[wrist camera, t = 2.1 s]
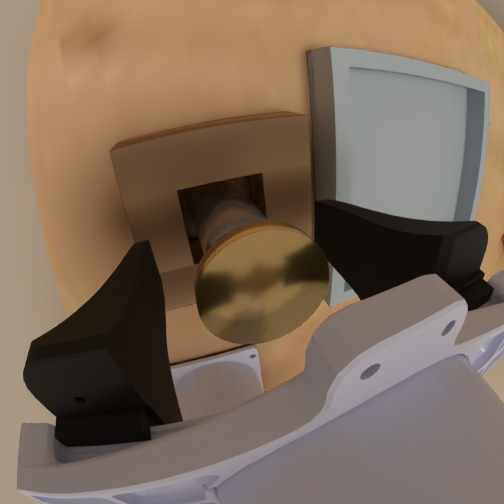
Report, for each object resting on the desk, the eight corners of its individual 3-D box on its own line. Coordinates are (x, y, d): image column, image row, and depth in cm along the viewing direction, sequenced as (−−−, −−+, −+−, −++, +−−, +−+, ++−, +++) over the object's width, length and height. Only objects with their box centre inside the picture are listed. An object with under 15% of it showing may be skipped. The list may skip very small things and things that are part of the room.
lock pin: (258, 228, 18) (325, 322, 11) (186, 245, 17) (212, 357, 10) (250, 156, 15) (331, 217, 8) (169, 173, 15) (181, 253, 8)
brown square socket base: (294, 251, 19) (311, 272, 17) (159, 286, 18) (160, 312, 16) (286, 111, 15) (308, 115, 13) (117, 142, 13) (109, 151, 11)
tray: (449, 239, 25) (466, 251, 23) (313, 286, 22) (329, 307, 19) (467, 78, 16) (489, 82, 14) (306, 51, 13) (330, 46, 11)
